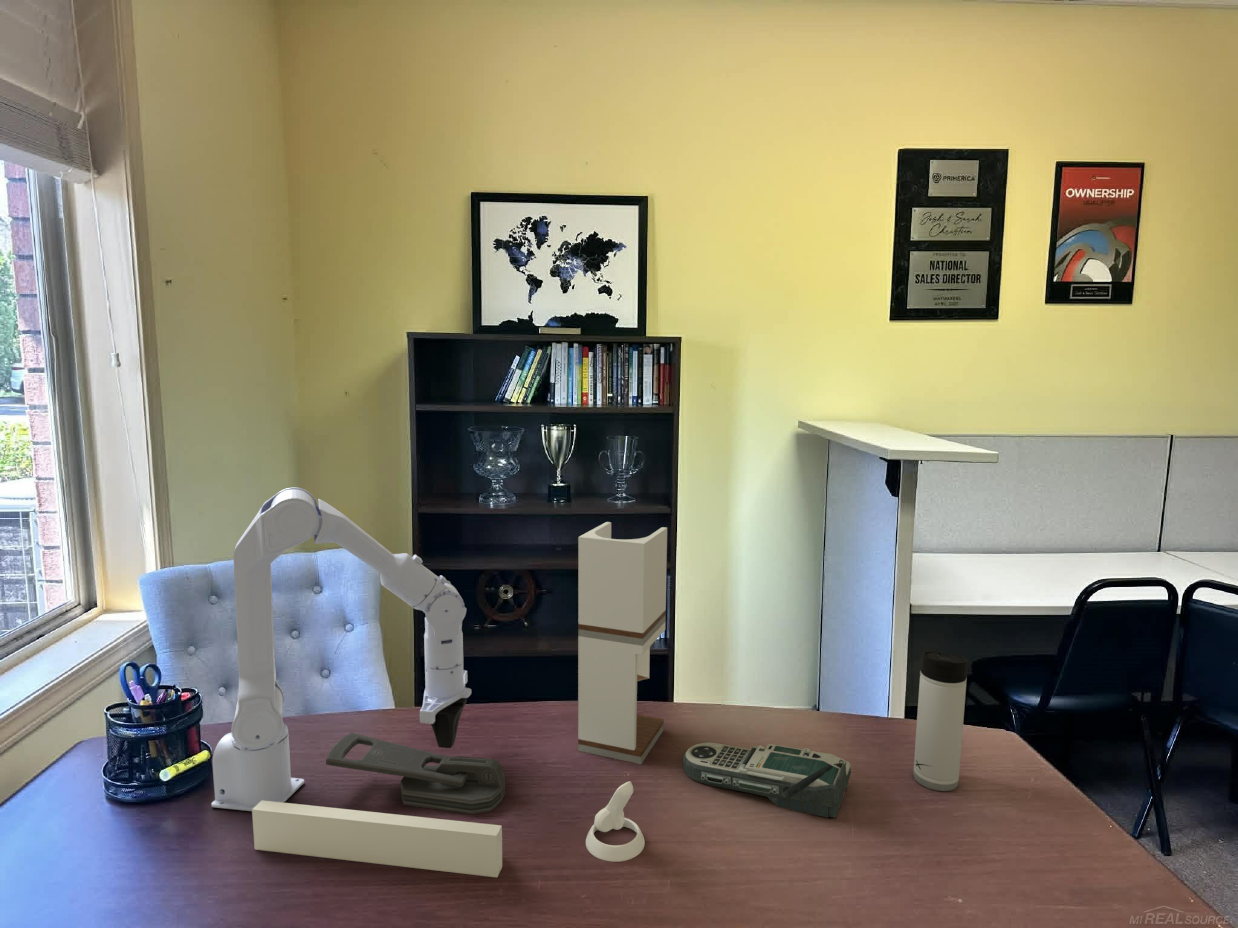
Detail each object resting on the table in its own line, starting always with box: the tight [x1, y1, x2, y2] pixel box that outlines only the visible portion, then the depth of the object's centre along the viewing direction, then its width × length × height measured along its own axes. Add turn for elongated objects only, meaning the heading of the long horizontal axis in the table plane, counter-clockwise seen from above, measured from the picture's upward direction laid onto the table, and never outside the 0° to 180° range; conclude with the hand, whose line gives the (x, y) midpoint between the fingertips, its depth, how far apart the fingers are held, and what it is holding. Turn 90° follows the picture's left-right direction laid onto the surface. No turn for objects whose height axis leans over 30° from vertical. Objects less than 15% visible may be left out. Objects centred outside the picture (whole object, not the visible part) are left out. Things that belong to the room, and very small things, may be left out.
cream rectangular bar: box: [251, 800, 503, 878], centre depth 95 cm, size 32×4×6 cm, turn 81°
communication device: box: [682, 742, 852, 818], centre depth 112 cm, size 12×24×9 cm, turn 63°
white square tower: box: [577, 521, 668, 765], centre depth 122 cm, size 11×11×35 cm
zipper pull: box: [325, 732, 506, 815], centre depth 109 cm, size 9×7×25 cm
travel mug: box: [912, 650, 968, 792], centre depth 112 cm, size 6×7×20 cm
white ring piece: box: [585, 781, 645, 862], centre depth 96 cm, size 8×12×7 cm
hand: (446, 745), depth 117 cm, fingers closed
